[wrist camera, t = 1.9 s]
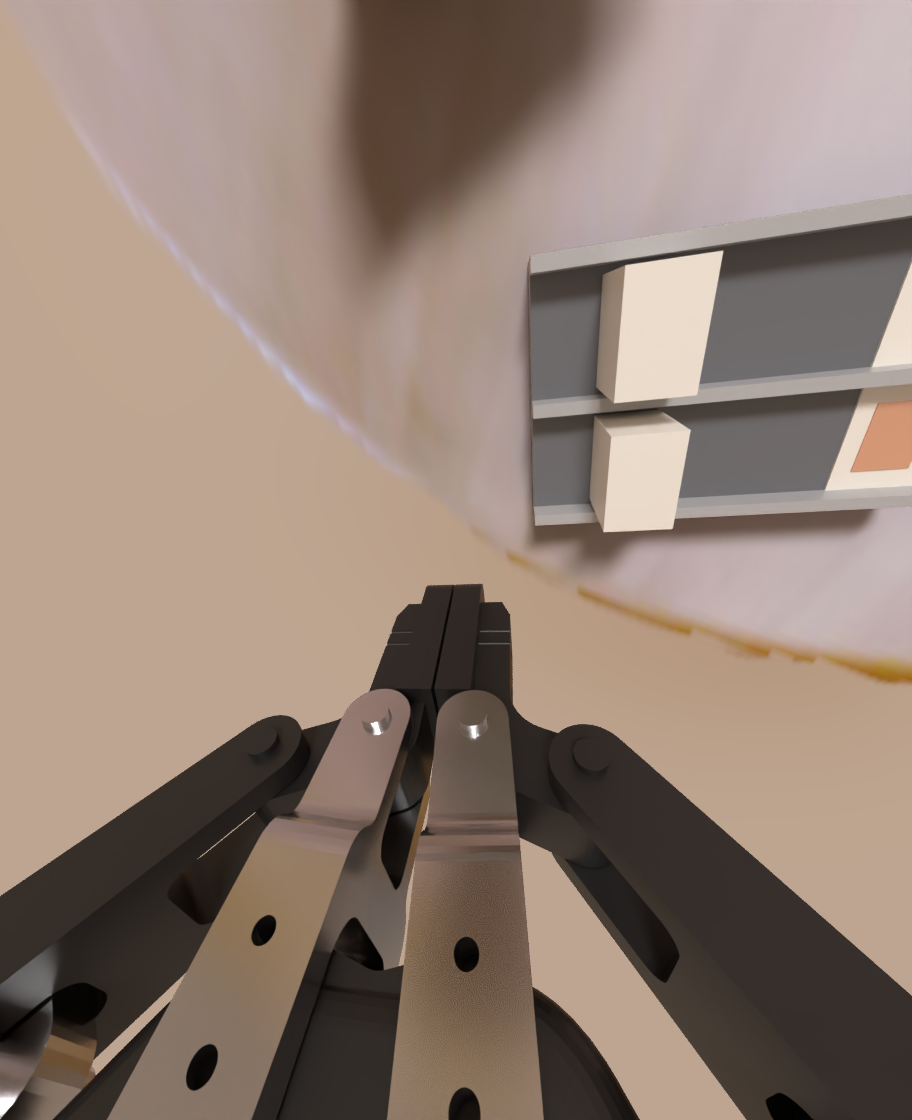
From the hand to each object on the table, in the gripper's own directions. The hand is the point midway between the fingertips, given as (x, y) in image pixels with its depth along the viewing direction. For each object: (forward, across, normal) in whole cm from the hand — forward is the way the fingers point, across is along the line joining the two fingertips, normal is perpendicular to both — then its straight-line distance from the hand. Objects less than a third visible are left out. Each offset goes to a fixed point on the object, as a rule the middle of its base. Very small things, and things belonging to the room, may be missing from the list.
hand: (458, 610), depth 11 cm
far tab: (+12, -7, 0) cm, 14 cm away
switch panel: (+14, -12, -3) cm, 19 cm away
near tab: (+12, -7, -6) cm, 15 cm away
